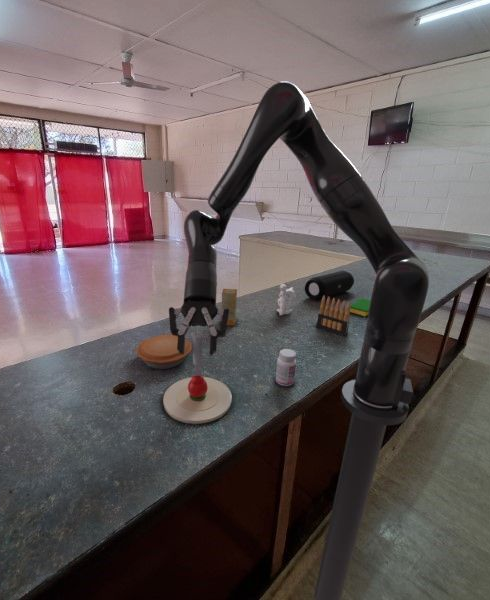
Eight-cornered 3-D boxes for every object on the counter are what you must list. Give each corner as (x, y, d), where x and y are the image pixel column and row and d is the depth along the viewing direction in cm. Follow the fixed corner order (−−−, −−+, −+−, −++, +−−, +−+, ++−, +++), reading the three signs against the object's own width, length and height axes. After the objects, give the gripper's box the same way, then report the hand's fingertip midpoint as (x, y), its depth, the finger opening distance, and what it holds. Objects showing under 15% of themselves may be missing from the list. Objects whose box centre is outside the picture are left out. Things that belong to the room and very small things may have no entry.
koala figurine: (282, 318, 120) (285, 288, 115) (269, 312, 125) (272, 283, 120) (297, 313, 125) (300, 284, 120) (284, 307, 130) (287, 279, 125)
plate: (241, 389, 78) (241, 386, 78) (214, 433, 65) (214, 429, 64) (185, 373, 84) (185, 370, 84) (149, 410, 70) (149, 407, 70)
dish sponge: (347, 311, 127) (348, 306, 126) (361, 303, 137) (361, 297, 136) (365, 316, 123) (366, 311, 122) (378, 307, 132) (379, 302, 131)
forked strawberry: (207, 389, 76) (207, 330, 71) (208, 402, 72) (208, 339, 66) (187, 390, 76) (186, 330, 70) (188, 403, 72) (186, 340, 66)
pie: (163, 381, 81) (162, 364, 79) (125, 360, 89) (124, 344, 88) (202, 356, 92) (202, 341, 90) (166, 340, 101) (165, 326, 99)
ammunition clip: (347, 334, 108) (353, 301, 104) (345, 335, 107) (351, 302, 103) (318, 324, 115) (322, 293, 111) (316, 326, 113) (320, 295, 109)
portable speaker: (319, 303, 135) (322, 281, 131) (301, 297, 142) (304, 275, 138) (353, 293, 149) (357, 272, 145) (335, 287, 156) (338, 267, 153)
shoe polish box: (235, 319, 117) (237, 289, 113) (235, 325, 112) (236, 294, 108) (222, 319, 117) (223, 288, 113) (221, 324, 113) (221, 293, 109)
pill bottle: (290, 388, 79) (294, 359, 76) (272, 382, 81) (275, 354, 78) (296, 379, 83) (299, 351, 80) (279, 373, 85) (281, 346, 82)
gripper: (168, 276, 71) (160, 348, 65) (231, 277, 71) (230, 350, 65) (172, 290, 78) (166, 357, 71) (230, 292, 78) (229, 359, 71)
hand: (196, 353), depth 68 cm, fingers open, 5 cm apart
